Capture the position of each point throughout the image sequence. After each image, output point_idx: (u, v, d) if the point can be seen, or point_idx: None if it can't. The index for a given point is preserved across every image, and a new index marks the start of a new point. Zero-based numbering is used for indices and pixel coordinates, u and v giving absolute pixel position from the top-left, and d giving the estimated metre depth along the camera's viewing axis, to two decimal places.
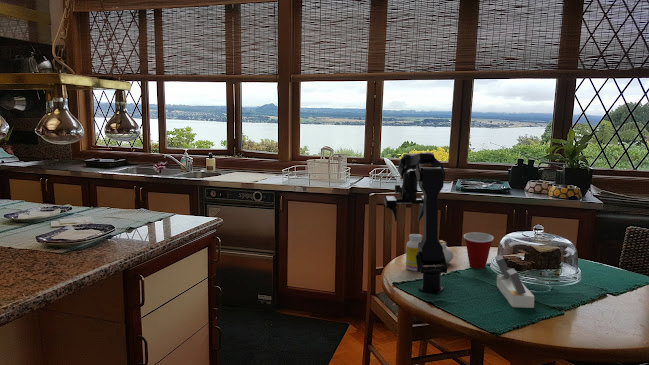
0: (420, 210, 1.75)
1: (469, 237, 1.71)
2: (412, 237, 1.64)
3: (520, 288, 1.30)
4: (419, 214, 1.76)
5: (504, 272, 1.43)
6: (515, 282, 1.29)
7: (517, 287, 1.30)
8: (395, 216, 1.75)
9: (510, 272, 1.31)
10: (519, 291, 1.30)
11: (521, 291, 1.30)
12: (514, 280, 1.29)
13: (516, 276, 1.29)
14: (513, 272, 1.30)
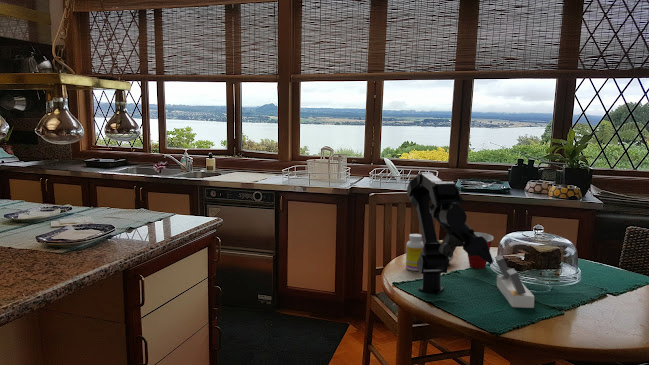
0: None
1: None
2: (412, 237, 1.64)
3: (520, 288, 1.30)
4: None
5: (504, 272, 1.43)
6: (515, 282, 1.29)
7: (517, 287, 1.30)
8: (489, 252, 1.27)
9: (510, 272, 1.31)
10: (519, 291, 1.30)
11: (521, 291, 1.30)
12: (514, 280, 1.29)
13: (516, 276, 1.29)
14: (513, 272, 1.30)
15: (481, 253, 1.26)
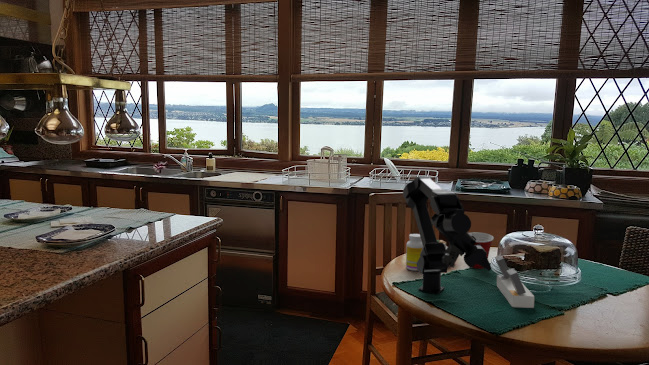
0: None
1: None
2: (412, 237, 1.64)
3: (520, 288, 1.30)
4: None
5: (504, 272, 1.43)
6: (515, 282, 1.29)
7: (517, 287, 1.30)
8: (487, 259, 1.31)
9: (510, 272, 1.31)
10: (519, 291, 1.30)
11: (521, 291, 1.30)
12: (514, 280, 1.29)
13: (516, 276, 1.29)
14: (513, 272, 1.30)
15: None
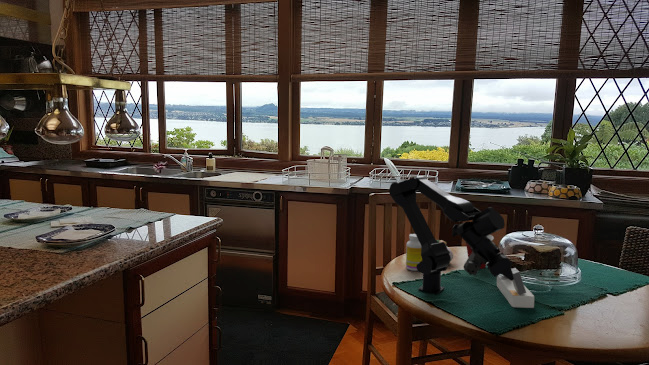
0: None
1: None
2: (412, 237, 1.64)
3: (520, 288, 1.30)
4: None
5: None
6: (516, 281, 1.29)
7: (518, 287, 1.30)
8: None
9: (512, 271, 1.31)
10: (519, 291, 1.30)
11: (521, 291, 1.30)
12: (516, 279, 1.29)
13: (518, 275, 1.29)
14: (515, 271, 1.30)
15: None
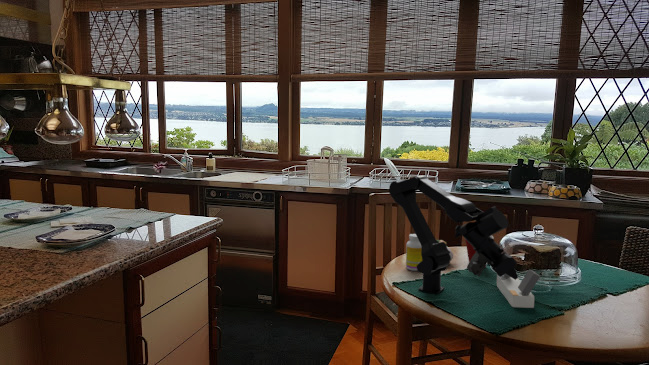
0: None
1: None
2: (412, 237, 1.64)
3: (528, 288, 1.29)
4: None
5: None
6: (530, 281, 1.29)
7: (527, 286, 1.29)
8: (514, 268, 1.30)
9: (533, 272, 1.30)
10: (525, 290, 1.29)
11: (526, 291, 1.29)
12: (531, 279, 1.29)
13: (536, 278, 1.29)
14: (536, 274, 1.29)
15: None
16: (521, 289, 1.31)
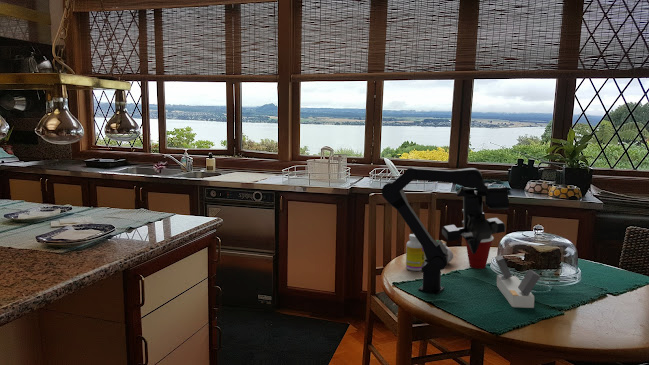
0: None
1: None
2: (412, 237, 1.64)
3: (528, 288, 1.29)
4: None
5: (504, 272, 1.43)
6: (530, 281, 1.29)
7: (527, 286, 1.29)
8: None
9: (534, 272, 1.30)
10: (525, 290, 1.29)
11: (526, 291, 1.29)
12: (531, 279, 1.29)
13: (536, 278, 1.29)
14: (537, 274, 1.29)
15: None
16: (521, 289, 1.31)
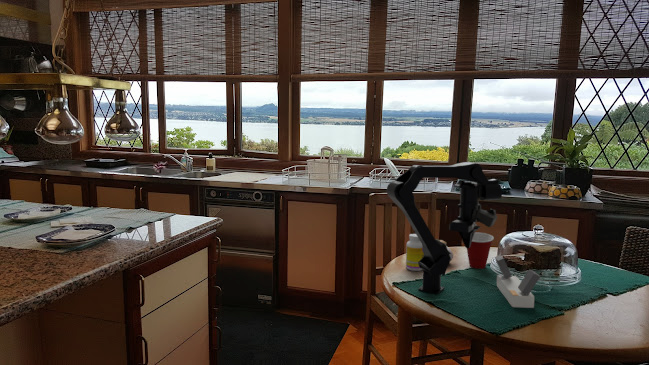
0: None
1: None
2: (412, 237, 1.64)
3: (528, 288, 1.29)
4: None
5: (504, 272, 1.43)
6: (530, 281, 1.29)
7: (527, 286, 1.29)
8: None
9: (534, 272, 1.30)
10: (525, 290, 1.29)
11: (526, 291, 1.29)
12: (531, 279, 1.29)
13: (536, 278, 1.29)
14: (537, 274, 1.29)
15: None
16: (521, 289, 1.31)
